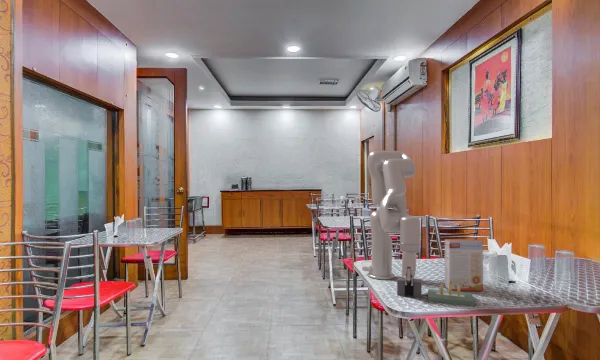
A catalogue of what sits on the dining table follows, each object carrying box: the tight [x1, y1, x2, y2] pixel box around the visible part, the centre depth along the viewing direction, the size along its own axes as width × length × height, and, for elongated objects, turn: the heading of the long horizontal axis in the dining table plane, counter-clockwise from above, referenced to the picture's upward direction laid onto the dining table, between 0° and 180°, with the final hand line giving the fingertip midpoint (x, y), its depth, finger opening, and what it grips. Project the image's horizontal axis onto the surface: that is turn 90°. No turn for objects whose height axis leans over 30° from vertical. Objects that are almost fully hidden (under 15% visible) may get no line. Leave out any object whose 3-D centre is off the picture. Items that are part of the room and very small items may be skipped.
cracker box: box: [444, 238, 484, 292], centre depth 154 cm, size 14×6×21 cm, turn 89°
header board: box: [427, 283, 476, 307], centre depth 140 cm, size 16×12×6 cm
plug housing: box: [396, 276, 423, 299], centre depth 145 cm, size 9×5×6 cm, turn 71°
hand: (409, 293), depth 145 cm, fingers closed on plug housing, 5 cm apart
